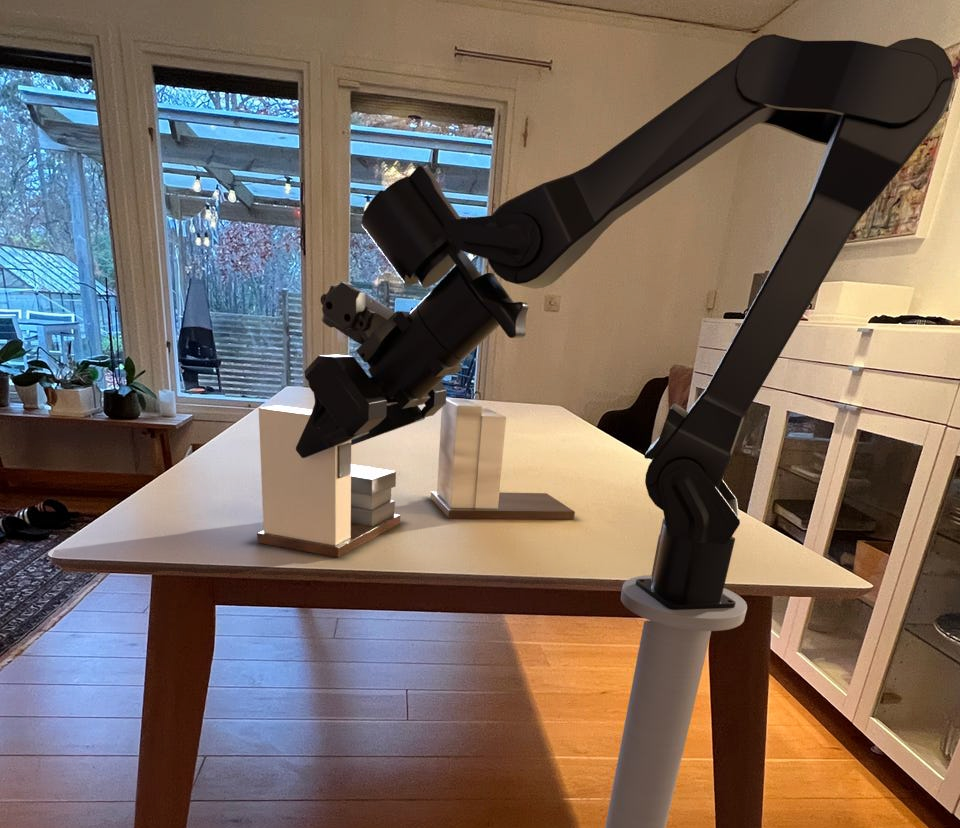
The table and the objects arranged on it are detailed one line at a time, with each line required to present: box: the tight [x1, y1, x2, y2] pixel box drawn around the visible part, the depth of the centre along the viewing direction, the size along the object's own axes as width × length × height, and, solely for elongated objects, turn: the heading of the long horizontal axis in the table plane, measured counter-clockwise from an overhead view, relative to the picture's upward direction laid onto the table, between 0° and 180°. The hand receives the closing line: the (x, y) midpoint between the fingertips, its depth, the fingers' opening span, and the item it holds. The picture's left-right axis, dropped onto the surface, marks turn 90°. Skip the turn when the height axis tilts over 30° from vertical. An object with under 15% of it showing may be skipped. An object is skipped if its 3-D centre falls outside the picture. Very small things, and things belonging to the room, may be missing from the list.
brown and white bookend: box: [430, 397, 576, 520], centre depth 91 cm, size 10×16×13 cm, turn 106°
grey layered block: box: [256, 463, 401, 558], centre depth 76 cm, size 9×15×6 cm, turn 162°
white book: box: [258, 404, 352, 546], centre depth 70 cm, size 8×3×12 cm, turn 72°
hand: (325, 447), depth 68 cm, fingers open, 9 cm apart
